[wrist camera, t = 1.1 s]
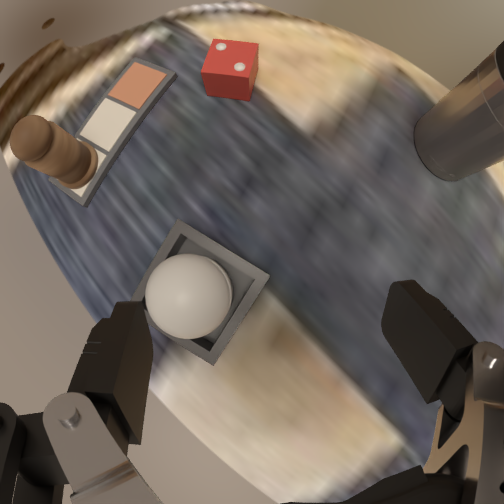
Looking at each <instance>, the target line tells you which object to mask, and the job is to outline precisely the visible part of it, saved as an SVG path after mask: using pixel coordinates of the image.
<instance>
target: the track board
mask: <svg viewBox="0 0 504 504" xmlns="http://www.w3.org/2000/svg"><path fill="white" fill-rule="evenodd" d="M134 62H136V63H139V64H142V65H144V66H147V67H150V68H152V69H155V70H158V71H160V72H163V73H165V74H167V76H166V77H165V78H164V79H163V81H162V82H161V83H160V84H159V85H158V87H157V88H156V89H155V90H154V92H153V93H152V94H151V95H150V97H149V98H148V99H147V101H146V102H145V103H144V104H143V106H142V107H141V108H140V110H139V109H137V108H135V107H133V106H131V105H128V104H126V103H124V102H122V101H120V100H118V99H115V98H113V97H111V96H109V95H108V94H109V93H110V91H111V90H112V89H113V87H114V86H115V85H116V84H117V82H118V81H119V80H120V79H121V78H122V76H123V75H124V74H125V73H126V72H127V70H128V69H129V68H130V67H131V66H132V65H133V63H134ZM176 78H177V75H176V72H173V71H171V70H168V69H165V68H163V67H160V66H158V65H155V64H152V63H150V62H147V61H144V60H141V59H138V58H136V57H135V58H134V59H133V60H132V61H131V62H130V63H129V64H128V66H127V67H126V68H125V69H124V70H123V72H122V73H121V74H120V75H119V76H118V78H117V79H116V80H115V81H114V82H113V84H112V85H111V86H110V87H109V89H108V90H107V91H106V93H105V94H104V95H103V96H102V98H101V99H100V100H99V102H98V103H97V104H96V106H95V107H94V109H93V110H92V111H91V113H90V114H89V116H88V117H87V118H86V120H85V121H84V123H83V124H82V126H81V127H80V129H79V130H78V132H77V133H76V135H75V136H74V138H76V139H77V140H78V141H84V142H87V143H88V144H90V145H91V146H92V147H94V148H95V150H96V152H97V154H98V167H97V170H96V173H95V175H94V176H93V178H92V179H91V181H90V182H89V183H88V184H86V185H85V186H83V187H82V188H79V189H70V188H67V187H65V186H63V185H62V184H60V182H59V181H58V179H56V178H54V177H51V176H50V177H49V179H48V180H49V181H50V182H51V183H53V184H54V185H55V186H57V187H58V188H59V189H61V190H62V191H63V192H65V193H66V194H67V195H69V196H70V197H71V198H73V199H74V200H75V201H77V202H78V203H79V204H81V205H82V206H84V207H88V205H89V203H90V202H91V200H92V198H93V196H94V195H95V193H96V191H97V190H98V188H99V186H100V184H101V183H102V181H103V180H104V178H105V176H106V175H107V173H108V171H109V170H110V168H111V167H112V165H113V164H114V162H115V160H116V159H117V157H118V156H119V154H120V153H121V151H122V150H123V148H124V147H125V145H126V144H127V142H128V141H129V140H130V138H131V137H132V135H133V134H134V132H135V131H136V130H137V128H138V127H139V125H140V124H141V123H142V121H143V120H144V119H145V117H146V116H147V115H148V113H149V112H150V111H151V109H152V108H153V107H154V105H155V104H156V103H157V101H158V100H159V99H160V98H161V96H162V95H163V94H164V93H165V91H166V90H167V89H168V88H169V86H170V85H171V84H172V83H173V82H174V80H175V79H176Z"/></svg>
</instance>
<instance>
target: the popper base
mask: <svg viewBox="0 0 504 504" xmlns="http://www.w3.org/2000/svg"><path fill="white" fill-rule="evenodd" d="M179 254H196V255H201V256H205V257H208V258H211V259H213V260H215V261H216V262H218V263H219V264H220V265H221V266H222V267H223V268H224V269H225V270H226V271H227V273H228V275H229V277H230V279H231V282H232V285H233V301H232V305H231V307H230V309H229V311H228V313H227V315H226V316H225V318H224V320H223V321H222V323H221V324H220V325H219V326H218V327H217V328H216V329H215V330H213V331H212V332H211V333H209V334H207V335H205V336H203V337H199V338H194V339H182V338H177V337H174V336H172V335H169V334H168V333H166V332H164V331H163V330H162V329H160V328H159V327H158V326H157V325H156V324H155V322H154V321H153V320H152V318H151V316H150V314H149V312H148V309H147V306H146V299H145V292H146V286H147V282H148V279H149V277H150V275H151V274H152V272H153V271H154V269H155V268H156V267H157V266H158V265H159V264H160V263H161V262H163V261H164V260H166V259H168V258H170V257H172V256H175V255H179ZM269 277H270V275H268V274H267V273H265V272H263V271H262V270H260V269H259V268H257V267H255V266H254V265H252V264H250V263H249V262H247V261H246V260H244V259H242V258H241V257H239V256H237V255H236V254H234V253H233V252H231V251H229V250H228V249H226V248H224V247H223V246H221V245H220V244H218V243H216V242H215V241H213V240H211V239H210V238H208V237H207V236H205V235H203V234H202V233H200V232H199V231H197V230H195V229H194V228H192V227H191V226H189V225H187V224H186V223H184V222H182V221H181V220H179V219H177V221H176V222H175V224H174V225H173V227H172V229H171V230H170V232H169V234H168V235H167V237H166V239H165V240H164V242H163V244H162V245H161V247H160V249H159V251H158V252H157V254H156V256H155V257H154V259H153V261H152V263H151V264H150V266H149V268H148V270H147V271H146V273H145V275H144V277H143V278H142V280H141V282H140V284H139V286H138V287H137V289H136V291H135V293H134V295H133V297H132V298H131V300H130V301H141V302H142V304H143V307H144V311H145V315H146V319H147V323H148V324H149V325H151V326H152V327H154V328H155V329H157V330H158V331H160V332H161V333H163V334H164V335H165V336H167V337H169V338H170V339H172V340H173V341H175V342H176V343H178V344H179V345H181V346H182V347H184V348H185V349H187V350H189V351H190V352H192V353H193V354H195V355H197V356H198V357H200V358H201V359H203V360H205V361H206V362H208V363H210V364H211V365H213V366H214V364H215V363H216V361H217V360H218V358H219V356H220V355H221V353H222V352H223V350H224V349H225V347H226V346H227V344H228V342H229V341H230V339H231V338H232V336H233V335H234V333H235V331H236V330H237V328H238V327H239V325H240V323H241V322H242V320H243V319H244V317H245V316H246V314H247V312H248V311H249V309H250V308H251V306H252V304H253V303H254V301H255V300H256V298H257V296H258V295H259V293H260V291H261V290H262V288H263V287H264V285H265V283H266V282H267V280H268V278H269Z"/></svg>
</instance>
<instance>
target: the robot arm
mask: <svg viewBox="0 0 504 504" xmlns="http://www.w3.org/2000/svg"><path fill="white" fill-rule="evenodd" d="M414 141H415V145H416V149H417V151H418V154H419V156H420V158H421V160H422V161H423V163H424V164H425V165H426V167H427V168H428V169H429V170H430V171H431V172H432V173H433V174H435V175H436V176H438V177H439V178H441V179H444V180H447V181H457V180H459V179H462V178H464V177H466V176H469V175H471V174H473V173H476V172H478V171H481V170H483V169H485V168H487V167H490V166H492V165H494V164H496V163H499V162H501V161H503V160H504V41H503V42H502V43H501V44H500V45H499V46H498V47H497V48H496V49H495V50H494V51H493V52H492V53H491V54H490V55H489V56H488V57H487V58H486V59H485V60H483V61H482V62H481V63H480V64H479V65H478V66H477V67H476V68H475V69H474V70H473V71H472V72H471V73H470V74H469V75H468V76H467V77H465V78H464V79H463V80H462V81H461V82H460V83H459V84H458V85H457V86H456V87H455V88H454V89H452V90H451V91H450V92H449V93H448V94H447V95H446V96H445V97H444V98H442V99H441V100H440V101H439V102H438V103H437V104H436V105H435V106H434V107H432V108H431V109H430V110H429V111H428V112H427V113H426V114H425V115H424V116H423V117H421V118H420V120H419V121H418V122H417V124H416V126H415V131H414ZM381 327H382V332H383V335H384V337H385V338H386V340H387V341H388V343H389V344H390V346H391V347H392V349H393V350H394V352H395V354H396V355H397V357H398V358H399V360H400V361H401V363H402V364H403V366H404V368H405V369H406V371H407V372H408V374H409V376H410V377H411V379H412V380H413V382H414V384H415V385H416V387H417V389H418V390H419V392H420V394H421V395H422V397H423V398H424V400H425V402H426V403H427V404H429V403H431V402H434V401H437V400H439V399H440V400H441V402H442V404H441V406H440V407H439V410H438V416H437V422H436V428H435V434H434V439H433V444H432V449H431V453H430V456H429V459H428V461H427V463H426V465H425V466H424V468H423V469H422V467H421V465H418V466H416V467H414V468H411V469H409V470H406V471H403V472H401V473H398V474H395V475H393V476H390V477H387V478H384V479H382V480H381V481H379V482H377V483H376V484H374V485H372V486H371V487H369V488H367V489H366V490H364V491H362V492H360V493H359V494H357V495H355V496H353V497H351V498H350V499H348V500H346V501H343V502H338V503H299V502H288V503H282V504H504V349H502V348H501V347H500V346H498V345H497V344H494V343H492V342H486V341H484V342H479V343H478V342H477V341H476V339H475V338H474V337H473V336H472V335H471V334H470V333H469V332H468V330H467V329H466V328H465V327H464V326H463V325H462V324H461V323H460V322H459V321H458V319H457V318H456V317H455V318H454V315H453V314H452V313H451V312H450V311H449V310H447V308H446V307H445V306H444V305H443V303H442V302H441V301H440V300H439V299H437V298H436V297H434V296H432V295H431V294H429V293H427V292H426V291H425V290H424V289H423V288H422V287H421V286H420V285H419V284H418V283H417V282H416V281H415V280H405V281H397V282H393V283H392V284H391V286H390V289H389V293H388V297H387V301H386V305H385V309H384V313H383V316H382V321H381ZM152 361H153V344H152V338H151V335H150V331H149V327H148V323H147V319H146V315H145V311H144V307H143V304H142V302H141V301H127V302H117V303H116V305H115V307H114V309H113V312H112V314H111V317H110V318H102V319H101V320H100V321H99V322H98V323H97V324H96V325H95V326H94V327H93V328H92V330H91V333H90V335H89V337H88V339H87V344H85V347H84V349H83V354H81V357H80V359H79V362H78V364H77V367H76V370H75V372H74V375H73V377H72V380H71V383H70V386H69V388H68V391H67V393H64V394H61V395H59V396H57V397H55V398H54V399H52V400H51V401H50V402H49V403H48V405H47V406H46V408H45V410H44V412H41V413H34V414H27V415H19V416H18V415H17V414H16V413H15V412H14V410H13V409H12V408H11V407H10V406H9V405H7V404H5V403H0V504H62V497H63V489H64V484H70V485H71V487H72V490H73V494H71V496H70V498H71V502H72V504H163V503H162V502H161V500H160V499H159V498H158V497H157V495H156V494H155V493H154V492H153V490H152V489H151V488H150V487H149V485H148V484H147V483H146V482H145V480H144V479H143V478H142V476H141V475H140V474H139V472H138V471H137V470H136V468H135V467H134V466H133V464H132V463H131V461H130V460H129V458H128V457H127V452H128V444H138V445H141V439H142V430H143V421H144V414H145V407H146V399H147V393H148V386H149V379H150V373H151V367H152ZM17 474H18V476H17ZM16 476H17V481H16ZM15 482H16V486H15ZM14 487H15V491H14ZM13 493H14V497H13ZM12 498H13V503H12Z"/></svg>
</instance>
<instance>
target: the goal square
mask: <svg viewBox="0 0 504 504" xmlns="http://www.w3.org/2000/svg"><path fill="white" fill-rule="evenodd" d="M166 76H167V74H165V73H163V72H160V71H158V70H155V69H152V68H150V67H147V66H144V65H142V64H139V63H136V62H134V63H133V65H132V66H131V67H130V68H129V69H128V70H127V72H126V73H125V74H124V75H123V76H122V78H121V79H120V80H119V81H118V82H117V84H116V85H115V86H114V87H113V89H112V90H111V91H110V93H109V94H108V95H109V96H111V97H113V98H115V99H118V100H120V101H122V102H124V103H126V104H128V105H131V106H133V107H135V108H137V109H139V110H140V108H141V107H142V106H143V104H144V103H145V102H146V101H147V99H148V98H149V97H150V95H151V94H152V93H153V92H154V90H155V89H156V88H157V87H158V85H159V84H160V83H161V82H162V81H163V79H164V78H165V77H166Z"/></svg>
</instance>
